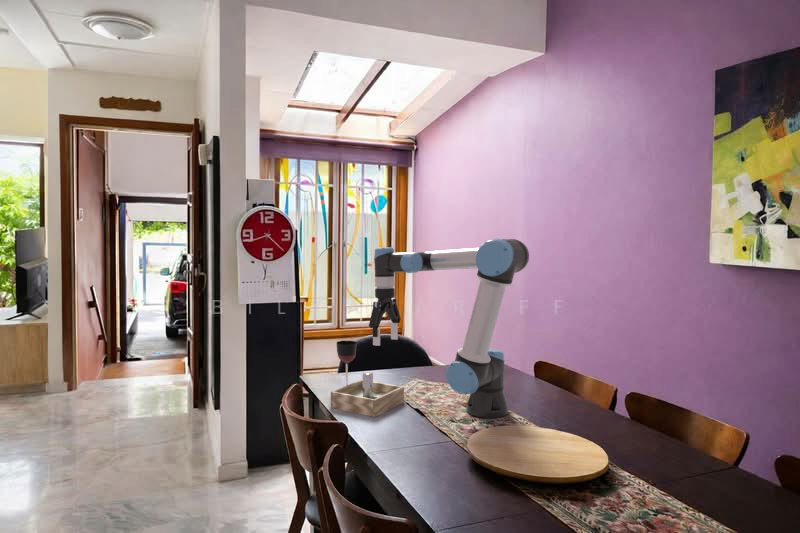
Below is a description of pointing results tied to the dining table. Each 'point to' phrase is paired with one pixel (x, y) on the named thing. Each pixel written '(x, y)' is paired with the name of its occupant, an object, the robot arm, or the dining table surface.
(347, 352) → the wineglass
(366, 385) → the peg
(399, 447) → the dining table surface
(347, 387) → the box
